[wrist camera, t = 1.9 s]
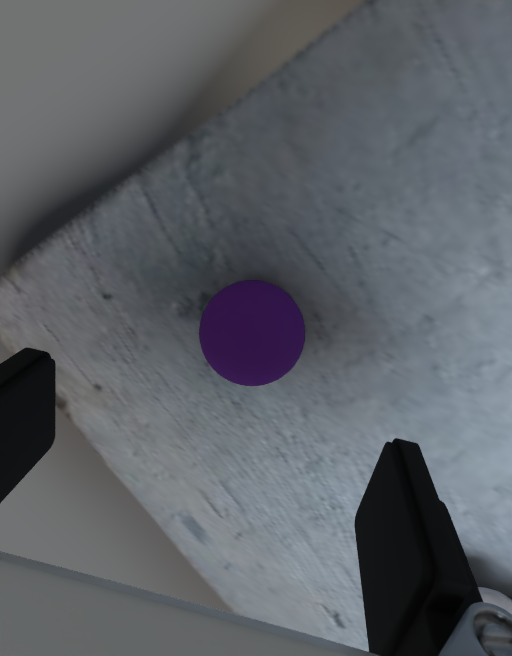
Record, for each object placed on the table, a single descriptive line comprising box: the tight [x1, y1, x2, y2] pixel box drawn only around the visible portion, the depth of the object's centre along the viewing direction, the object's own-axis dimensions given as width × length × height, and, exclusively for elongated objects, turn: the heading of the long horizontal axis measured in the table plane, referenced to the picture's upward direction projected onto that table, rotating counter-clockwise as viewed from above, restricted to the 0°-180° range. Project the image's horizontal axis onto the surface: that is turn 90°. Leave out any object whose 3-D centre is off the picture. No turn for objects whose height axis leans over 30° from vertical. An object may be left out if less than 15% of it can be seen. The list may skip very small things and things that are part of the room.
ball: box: [199, 280, 305, 386], centre depth 17 cm, size 4×4×4 cm
